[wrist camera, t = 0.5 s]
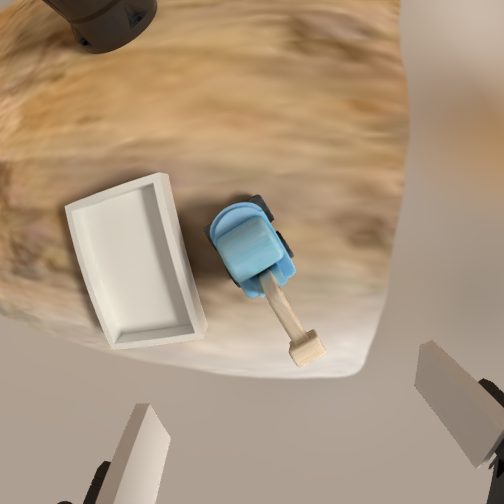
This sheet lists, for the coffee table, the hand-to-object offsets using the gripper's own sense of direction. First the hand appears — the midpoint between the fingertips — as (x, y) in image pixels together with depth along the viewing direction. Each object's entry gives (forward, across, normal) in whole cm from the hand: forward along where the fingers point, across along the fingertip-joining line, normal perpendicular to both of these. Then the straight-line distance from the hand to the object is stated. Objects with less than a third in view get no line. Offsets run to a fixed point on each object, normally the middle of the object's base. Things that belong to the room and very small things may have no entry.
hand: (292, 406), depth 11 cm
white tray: (+28, -17, +3) cm, 33 cm away
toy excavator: (+29, 0, 0) cm, 29 cm away
